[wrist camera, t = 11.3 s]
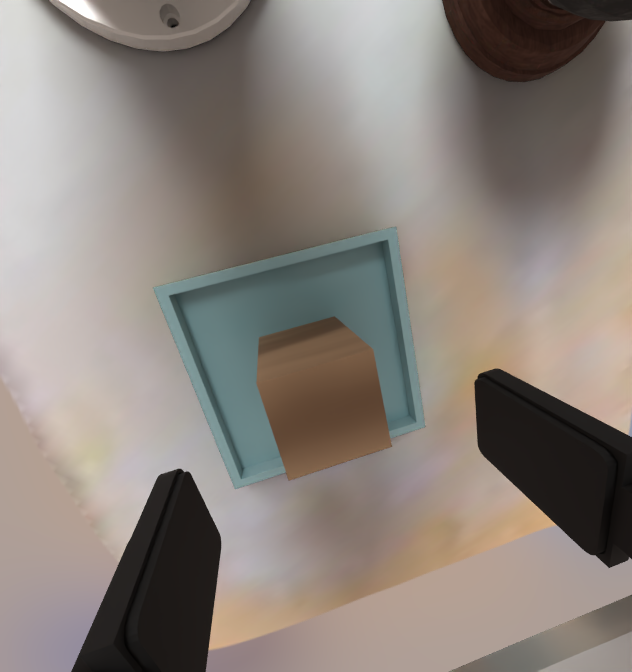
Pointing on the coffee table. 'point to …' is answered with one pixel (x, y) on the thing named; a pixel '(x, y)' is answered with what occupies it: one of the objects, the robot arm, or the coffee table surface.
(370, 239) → the teal dish
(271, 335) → the walnut block
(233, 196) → the coffee table surface
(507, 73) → the black ball on stand
